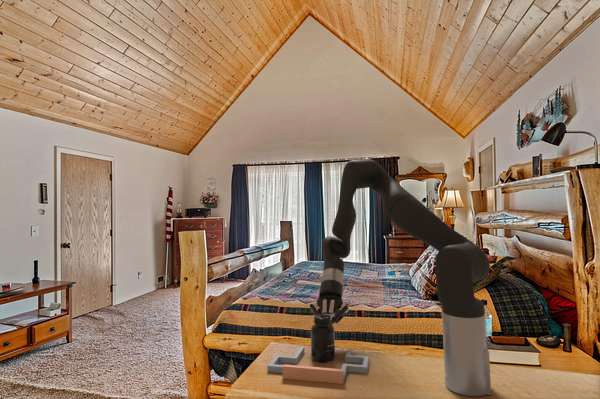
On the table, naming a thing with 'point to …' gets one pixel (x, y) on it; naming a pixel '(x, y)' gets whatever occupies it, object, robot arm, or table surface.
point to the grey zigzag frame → (317, 368)
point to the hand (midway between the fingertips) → (326, 334)
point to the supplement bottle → (322, 339)
